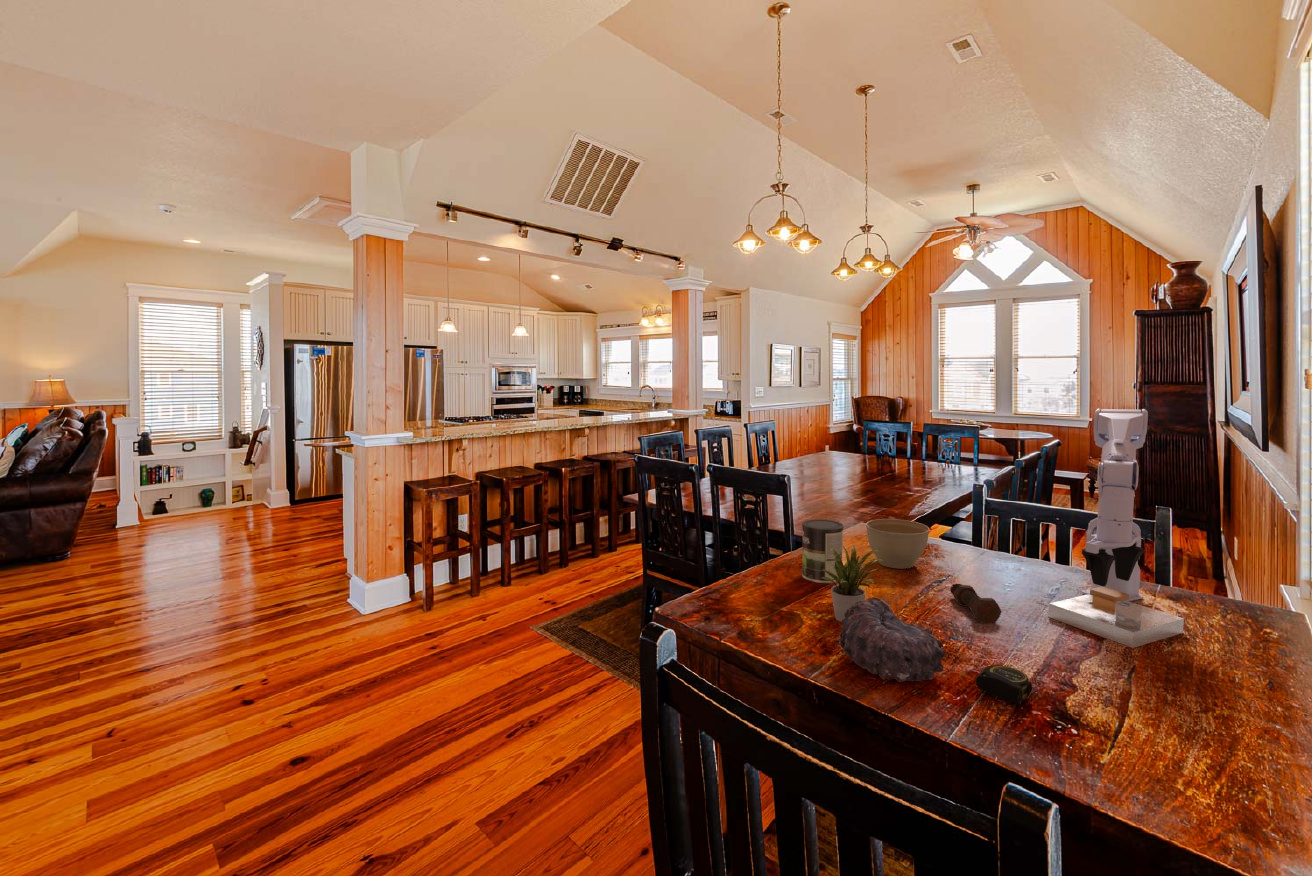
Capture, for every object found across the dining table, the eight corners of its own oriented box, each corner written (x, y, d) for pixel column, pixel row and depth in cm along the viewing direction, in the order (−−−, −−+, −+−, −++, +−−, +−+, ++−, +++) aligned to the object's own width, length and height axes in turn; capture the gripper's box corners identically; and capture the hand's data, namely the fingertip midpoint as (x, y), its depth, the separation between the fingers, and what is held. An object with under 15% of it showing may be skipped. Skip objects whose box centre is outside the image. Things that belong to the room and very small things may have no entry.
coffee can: (804, 583, 149) (804, 528, 147) (799, 570, 159) (800, 518, 158) (846, 584, 147) (847, 529, 146) (839, 571, 157) (839, 519, 156)
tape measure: (972, 693, 96) (973, 671, 96) (994, 680, 100) (994, 659, 100) (1017, 712, 91) (1018, 688, 90) (1038, 697, 94) (1039, 675, 94)
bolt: (959, 605, 138) (991, 630, 123) (940, 594, 138) (969, 617, 123) (972, 584, 137) (1006, 606, 122) (953, 573, 137) (984, 594, 122)
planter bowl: (871, 572, 156) (872, 532, 155) (860, 554, 172) (861, 518, 171) (936, 574, 153) (937, 534, 152) (919, 556, 169) (920, 519, 168)
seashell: (853, 644, 118) (807, 621, 111) (891, 594, 117) (848, 568, 109) (925, 717, 101) (877, 696, 94) (971, 660, 100) (925, 634, 93)
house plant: (900, 618, 126) (902, 543, 124) (873, 639, 116) (875, 558, 114) (837, 601, 136) (838, 532, 134) (808, 620, 126) (808, 545, 124)
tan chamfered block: (1100, 613, 127) (1102, 586, 126) (1127, 622, 122) (1129, 594, 122) (1088, 616, 125) (1090, 589, 125) (1115, 625, 121) (1116, 597, 120)
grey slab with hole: (1096, 605, 131) (1098, 574, 131) (1182, 632, 117) (1185, 598, 116) (1048, 616, 125) (1049, 585, 125) (1132, 648, 111) (1135, 612, 110)
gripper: (1115, 510, 128) (1112, 571, 129) (1071, 518, 122) (1068, 581, 124) (1153, 517, 121) (1149, 581, 123) (1108, 525, 116) (1104, 592, 117)
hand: (1111, 582), depth 123 cm, fingers open, 7 cm apart
